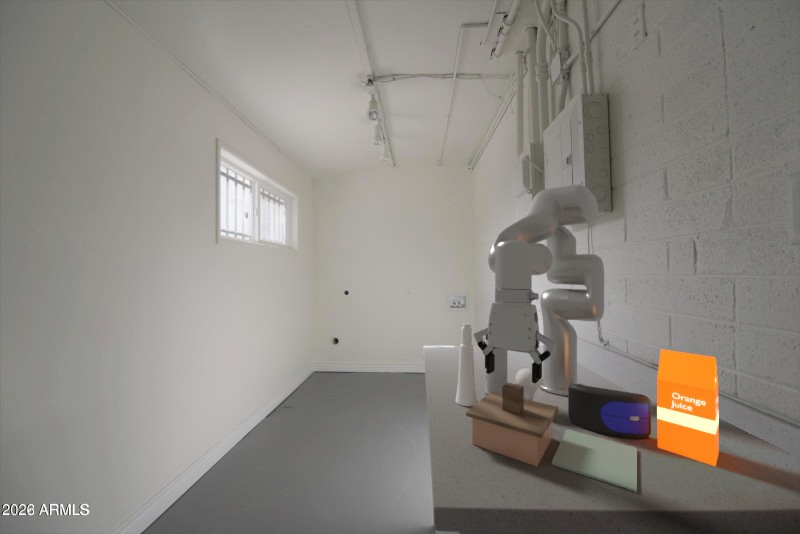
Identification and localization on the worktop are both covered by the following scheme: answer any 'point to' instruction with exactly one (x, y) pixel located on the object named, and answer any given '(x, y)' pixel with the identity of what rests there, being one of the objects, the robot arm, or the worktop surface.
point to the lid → (514, 411)
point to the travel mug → (497, 372)
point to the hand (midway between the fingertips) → (512, 376)
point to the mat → (598, 459)
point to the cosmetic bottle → (466, 370)
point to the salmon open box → (510, 441)
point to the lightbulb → (527, 382)
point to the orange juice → (688, 405)
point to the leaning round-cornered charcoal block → (610, 411)
